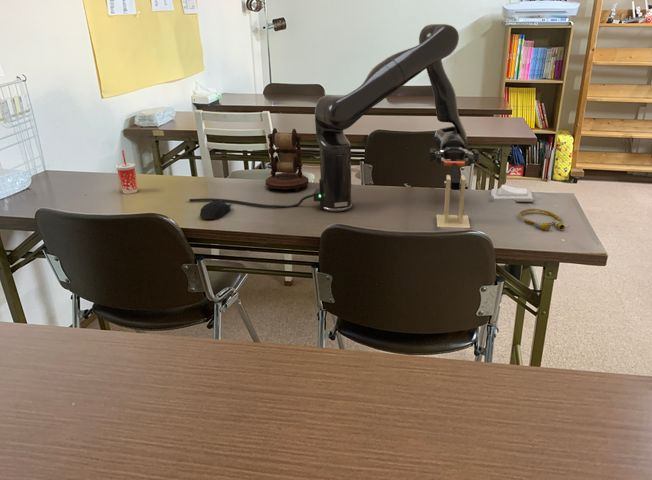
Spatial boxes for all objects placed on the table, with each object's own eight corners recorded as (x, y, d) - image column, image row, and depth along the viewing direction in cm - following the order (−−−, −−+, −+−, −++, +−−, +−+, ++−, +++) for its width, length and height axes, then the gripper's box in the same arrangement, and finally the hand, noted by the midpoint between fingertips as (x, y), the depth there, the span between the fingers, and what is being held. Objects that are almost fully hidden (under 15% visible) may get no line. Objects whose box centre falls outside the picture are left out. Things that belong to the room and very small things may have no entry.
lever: (443, 165, 163) (444, 158, 161) (464, 166, 162) (465, 158, 161) (444, 189, 153) (444, 182, 151) (466, 190, 152) (467, 182, 151)
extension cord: (518, 229, 154) (518, 222, 154) (517, 211, 168) (518, 204, 167) (564, 233, 152) (565, 226, 151) (560, 214, 165) (561, 207, 165)
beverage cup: (135, 194, 186) (128, 152, 180) (117, 194, 186) (109, 152, 180) (142, 188, 191) (135, 148, 186) (124, 189, 192) (117, 148, 186)
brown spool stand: (313, 181, 198) (310, 124, 189) (302, 194, 185) (299, 133, 176) (273, 180, 200) (269, 123, 192) (260, 192, 187) (255, 132, 179)
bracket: (436, 218, 163) (438, 172, 157) (467, 219, 162) (471, 172, 156) (437, 230, 154) (439, 182, 148) (470, 231, 153) (474, 182, 147)
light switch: (491, 181, 185) (531, 181, 182) (490, 193, 187) (530, 193, 184) (491, 191, 175) (534, 191, 173) (491, 203, 177) (533, 203, 174)
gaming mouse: (239, 205, 174) (238, 193, 173) (214, 221, 161) (213, 208, 160) (221, 204, 176) (220, 191, 174) (195, 219, 163) (194, 206, 162)
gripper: (430, 135, 172) (430, 147, 158) (476, 136, 171) (481, 148, 156) (428, 159, 176) (429, 173, 161) (474, 160, 174) (479, 174, 159)
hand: (455, 161), depth 159 cm, fingers open, 8 cm apart
